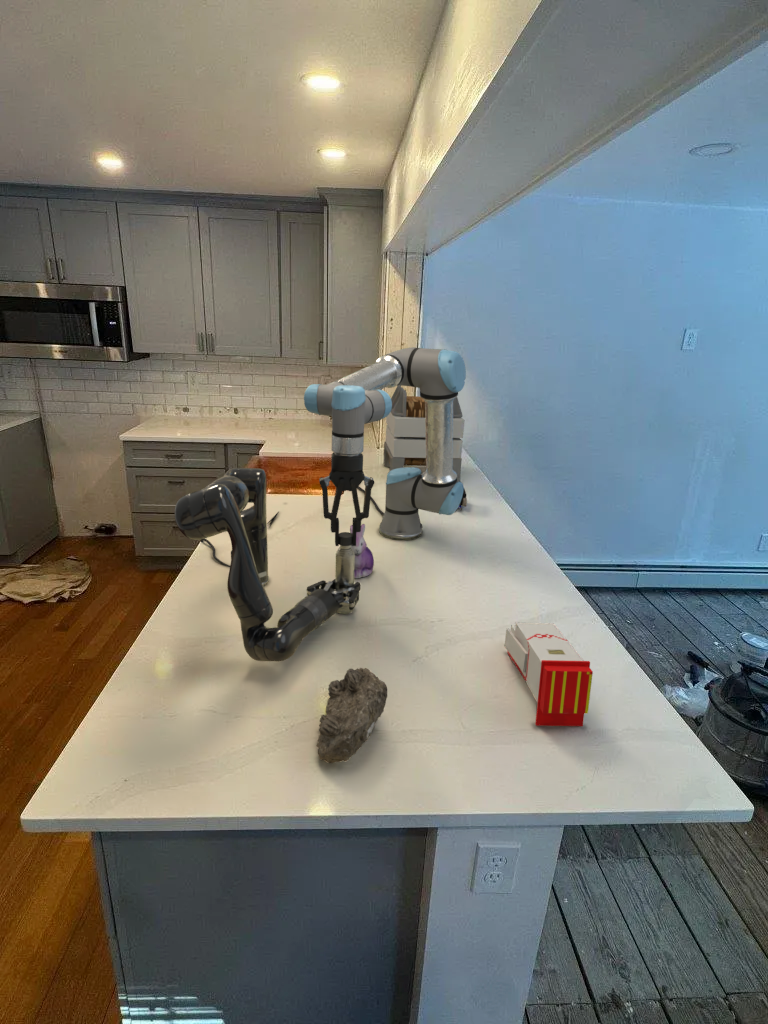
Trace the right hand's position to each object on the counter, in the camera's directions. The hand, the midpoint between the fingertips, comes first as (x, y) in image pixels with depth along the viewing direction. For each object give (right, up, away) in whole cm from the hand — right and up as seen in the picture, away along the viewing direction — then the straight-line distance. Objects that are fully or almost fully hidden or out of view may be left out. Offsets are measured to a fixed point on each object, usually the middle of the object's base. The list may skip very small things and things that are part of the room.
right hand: (345, 543), depth 142 cm
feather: (-30, +7, +70) cm, 77 cm away
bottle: (-1, -18, +6) cm, 19 cm away
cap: (0, +2, -1) cm, 2 cm away
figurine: (+2, -10, +27) cm, 29 cm away
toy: (+43, -29, -20) cm, 56 cm away
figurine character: (+39, +10, +89) cm, 97 cm away
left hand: (+1, -11, +6) cm, 12 cm away
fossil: (+4, -33, -35) cm, 48 cm away
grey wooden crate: (+27, +27, +133) cm, 138 cm away
